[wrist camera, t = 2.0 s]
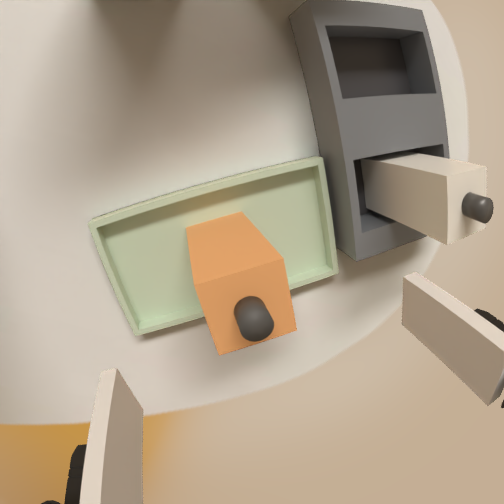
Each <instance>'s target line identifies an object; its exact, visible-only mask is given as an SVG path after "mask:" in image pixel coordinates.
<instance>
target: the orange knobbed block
mask: <svg viewBox="0 0 504 504" xmlns="http://www.w3.org/2000/svg"><path fill="white" fill-rule="evenodd" d="M186 233H187V240H188V248H189V255H190V262H191V269H192V275H193V282H194V287H195V290H196V293H197V295H198V298H199V301H200V304H201V307H202V310H203V313H204V315H205V318H206V321H207V324H208V327H209V329H210V332H211V335H212V338H213V340H214V343H215V346H216V348H217V351H218V354H219V355H222V354H226V353H229V352H232V351H235V350H239V349H242V348H245V347H248V346H251V345H254V344H258V343H261V342H264V341H267V340H270V339H273V338H276V337H279V336H282V335H285V334H287V333H290V332H293V331H296V330H297V328H296V322H295V317H294V311H293V306H292V300H291V295H290V290H289V284H288V279H287V274H286V269H285V263H284V258H283V257H282V256H281V255H280V254H279V253H278V251H277V250H276V249H275V248H274V247H273V246H272V245H271V244H270V242H269V241H268V240H267V239H266V238H265V237H264V236H263V235H262V233H261V232H260V231H259V230H258V229H257V228H256V227H255V226H254V225H253V223H252V222H251V221H250V220H249V219H248V218H247V217H246V216H245V215H244V213H243V212H242V211H241V212H237V213H234V214H230V215H227V216H223V217H220V218H216V219H213V220H209V221H206V222H202V223H199V224H195V225H192V226H189V227H186Z"/></svg>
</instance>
